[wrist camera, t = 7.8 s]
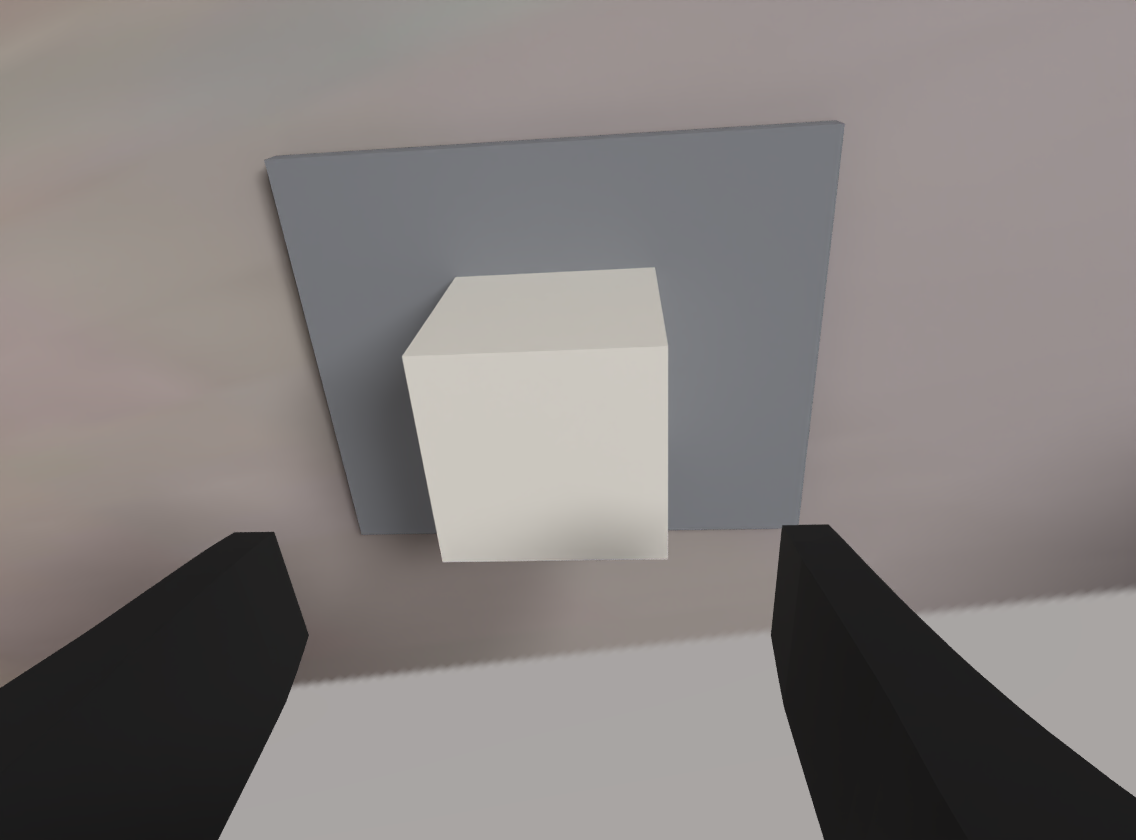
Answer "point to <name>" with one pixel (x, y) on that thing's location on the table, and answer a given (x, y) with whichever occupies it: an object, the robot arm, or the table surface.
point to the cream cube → (545, 416)
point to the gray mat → (580, 243)
